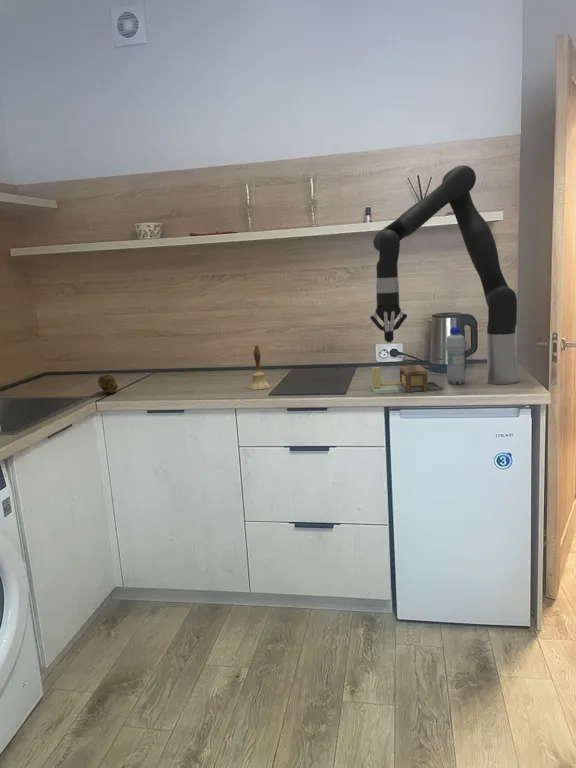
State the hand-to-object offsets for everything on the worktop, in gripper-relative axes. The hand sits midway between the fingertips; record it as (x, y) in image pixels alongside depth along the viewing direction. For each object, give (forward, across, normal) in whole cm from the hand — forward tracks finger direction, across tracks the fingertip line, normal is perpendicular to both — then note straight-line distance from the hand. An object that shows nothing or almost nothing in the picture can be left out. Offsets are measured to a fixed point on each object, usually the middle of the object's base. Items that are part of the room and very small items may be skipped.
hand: (388, 342), depth 216 cm
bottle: (+17, -24, -4) cm, 30 cm away
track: (+17, -3, 0) cm, 17 cm away
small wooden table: (+17, -8, 0) cm, 19 cm away
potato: (+18, +105, -30) cm, 111 cm away
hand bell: (+18, +46, -21) cm, 53 cm away
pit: (+17, -14, 0) cm, 22 cm away
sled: (+15, -3, 0) cm, 16 cm away
